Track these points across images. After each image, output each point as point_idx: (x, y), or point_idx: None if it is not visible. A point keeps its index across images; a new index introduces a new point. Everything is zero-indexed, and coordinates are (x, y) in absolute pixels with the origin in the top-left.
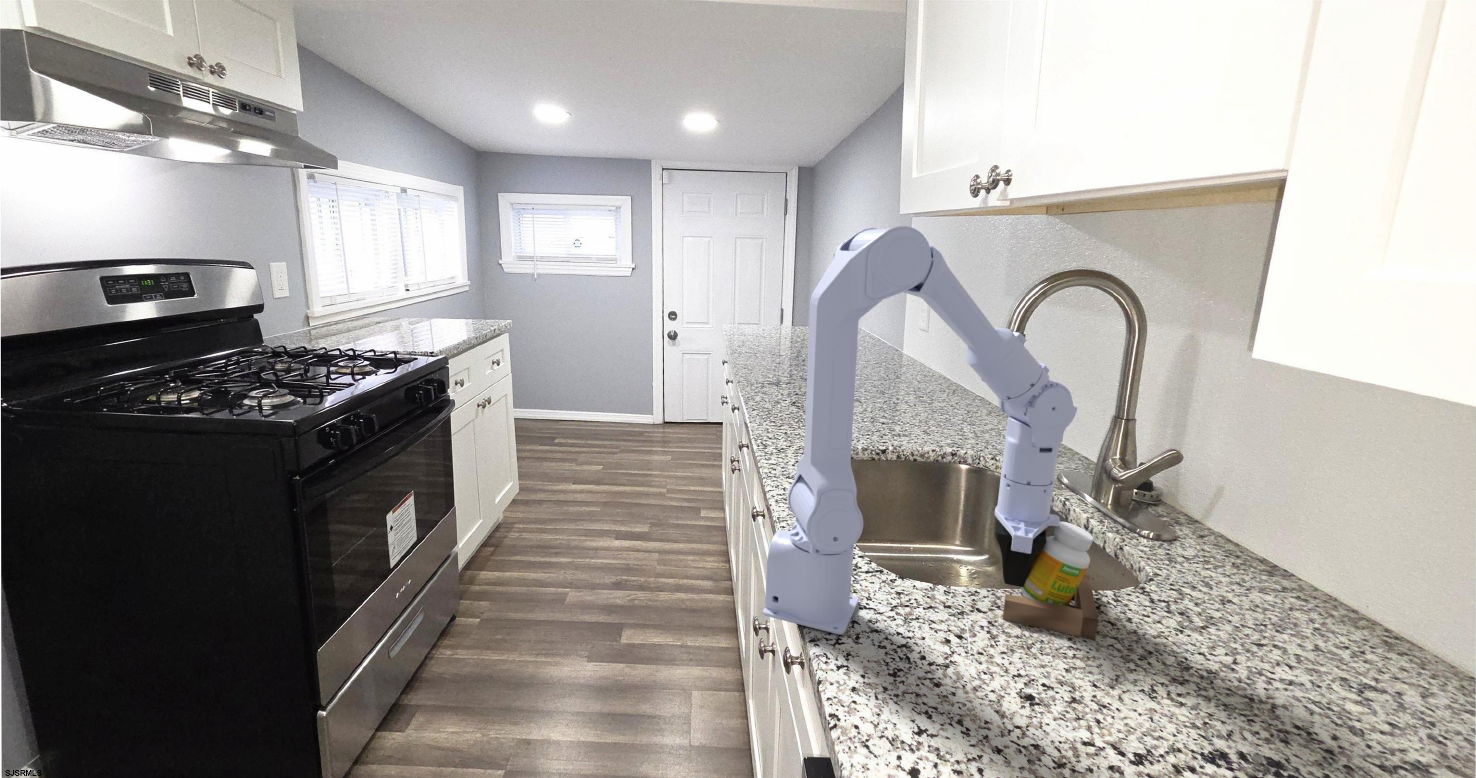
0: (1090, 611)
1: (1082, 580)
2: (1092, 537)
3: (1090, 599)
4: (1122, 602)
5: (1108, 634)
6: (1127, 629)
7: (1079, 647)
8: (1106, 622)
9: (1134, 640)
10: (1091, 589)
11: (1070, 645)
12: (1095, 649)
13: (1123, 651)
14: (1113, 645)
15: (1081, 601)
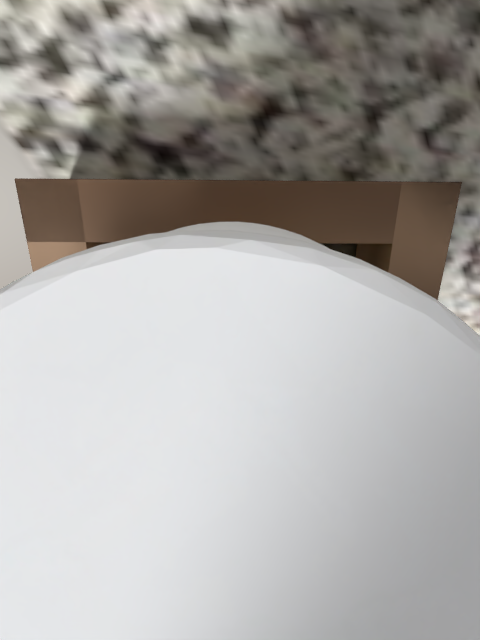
0: (400, 209)
1: (97, 216)
2: (214, 253)
3: (283, 197)
4: (59, 34)
5: (355, 136)
6: (291, 52)
7: (466, 244)
8: (268, 132)
9: (368, 36)
10: (175, 182)
11: (460, 269)
12: (466, 195)
13: (457, 96)
14: (426, 128)
15: (318, 239)
